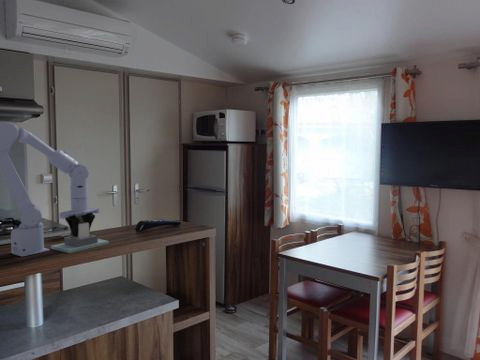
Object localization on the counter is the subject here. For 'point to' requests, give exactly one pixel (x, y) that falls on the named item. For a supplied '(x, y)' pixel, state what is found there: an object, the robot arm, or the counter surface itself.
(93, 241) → the socket
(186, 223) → the counter surface
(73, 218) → the robot arm
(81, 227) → the plug
